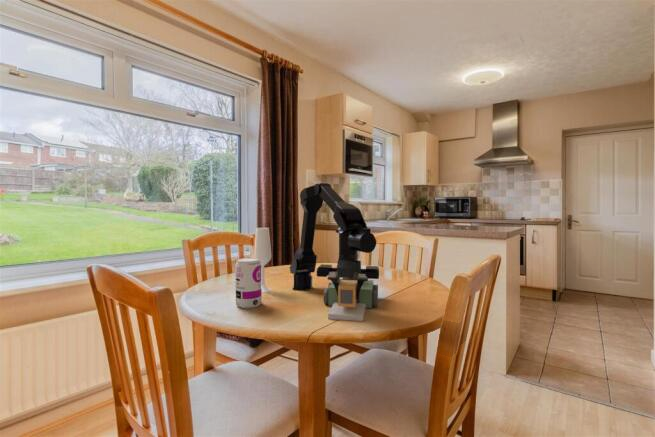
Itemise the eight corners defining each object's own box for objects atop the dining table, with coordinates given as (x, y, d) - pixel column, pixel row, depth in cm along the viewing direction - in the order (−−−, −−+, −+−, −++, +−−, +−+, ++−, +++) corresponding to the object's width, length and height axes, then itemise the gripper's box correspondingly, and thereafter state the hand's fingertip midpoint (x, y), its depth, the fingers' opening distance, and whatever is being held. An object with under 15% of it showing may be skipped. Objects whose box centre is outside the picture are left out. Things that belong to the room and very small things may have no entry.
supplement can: (266, 302, 112) (265, 258, 111) (252, 310, 104) (252, 262, 104) (245, 300, 115) (244, 257, 114) (230, 307, 107) (230, 261, 106)
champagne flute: (273, 288, 131) (272, 227, 130) (270, 292, 124) (270, 228, 123) (255, 288, 131) (255, 227, 130) (252, 292, 124) (251, 228, 123)
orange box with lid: (338, 306, 98) (338, 286, 98) (341, 298, 106) (341, 279, 106) (354, 307, 97) (355, 287, 97) (357, 299, 106) (357, 280, 105)
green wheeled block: (315, 318, 97) (315, 287, 96) (330, 294, 121) (330, 270, 121) (375, 321, 94) (375, 290, 93) (378, 297, 118) (378, 272, 118)
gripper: (312, 251, 95) (312, 305, 96) (378, 253, 92) (378, 309, 93) (320, 246, 106) (320, 295, 107) (379, 248, 103) (379, 298, 103)
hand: (348, 299), depth 102 cm, fingers closed on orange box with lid, 5 cm apart
